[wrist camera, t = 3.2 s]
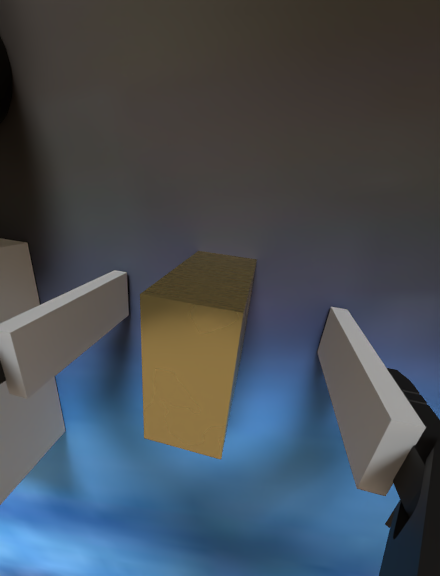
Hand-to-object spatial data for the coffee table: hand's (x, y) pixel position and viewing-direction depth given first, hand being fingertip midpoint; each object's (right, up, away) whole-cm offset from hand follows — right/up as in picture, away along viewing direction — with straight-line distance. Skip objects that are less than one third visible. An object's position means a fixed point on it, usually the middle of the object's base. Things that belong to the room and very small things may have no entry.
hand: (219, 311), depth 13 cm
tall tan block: (0, 0, 0) cm, 0 cm away
